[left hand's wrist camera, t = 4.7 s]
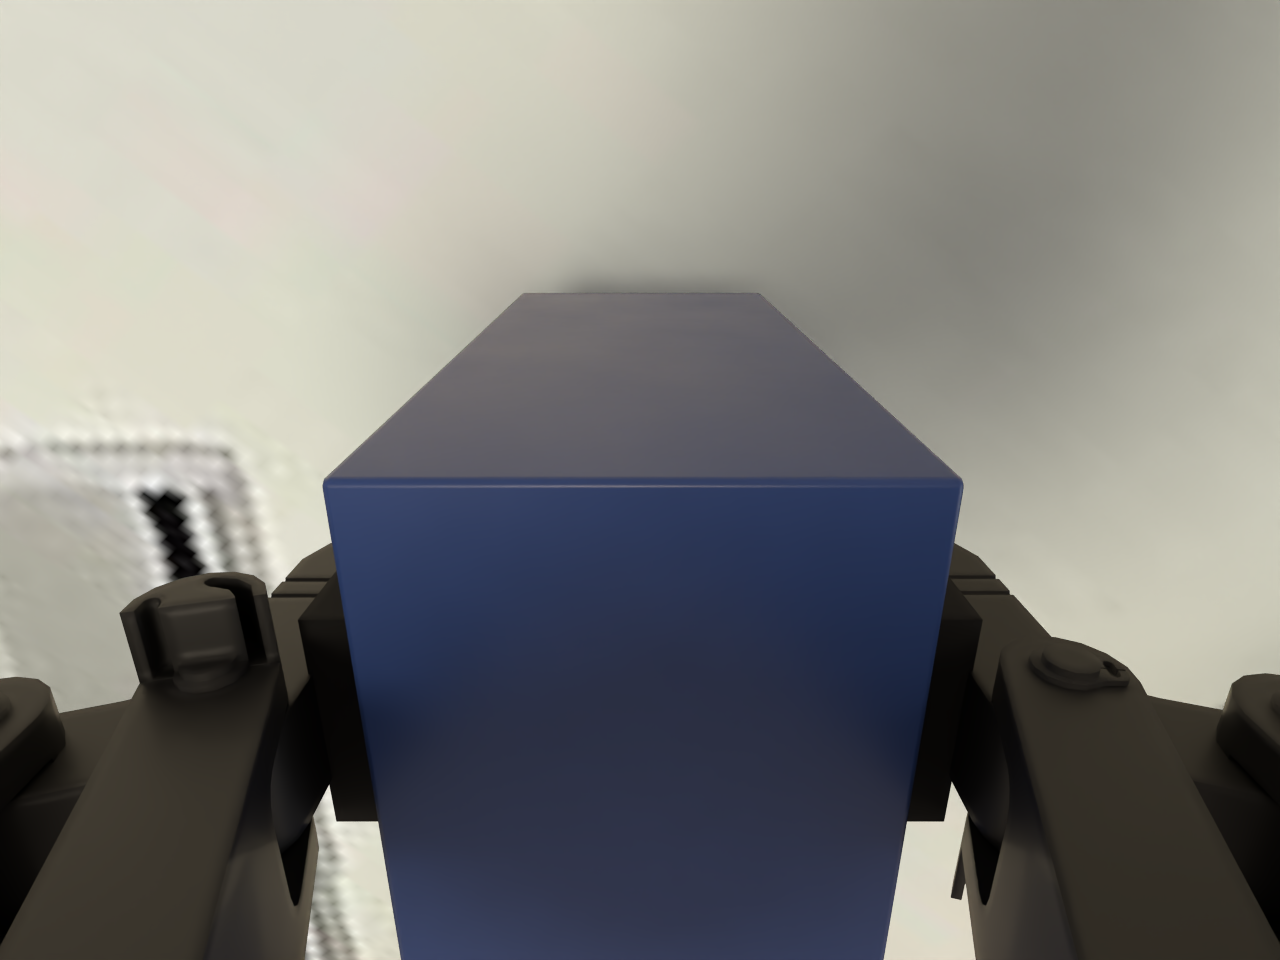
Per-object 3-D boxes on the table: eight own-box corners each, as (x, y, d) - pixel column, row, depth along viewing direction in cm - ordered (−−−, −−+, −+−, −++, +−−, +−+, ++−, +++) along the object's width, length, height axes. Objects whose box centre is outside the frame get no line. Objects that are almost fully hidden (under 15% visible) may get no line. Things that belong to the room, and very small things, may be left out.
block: (521, 292, 17) (317, 480, 6) (760, 292, 17) (969, 480, 6) (535, 537, 20) (402, 986, 9) (746, 537, 20) (882, 987, 9)
